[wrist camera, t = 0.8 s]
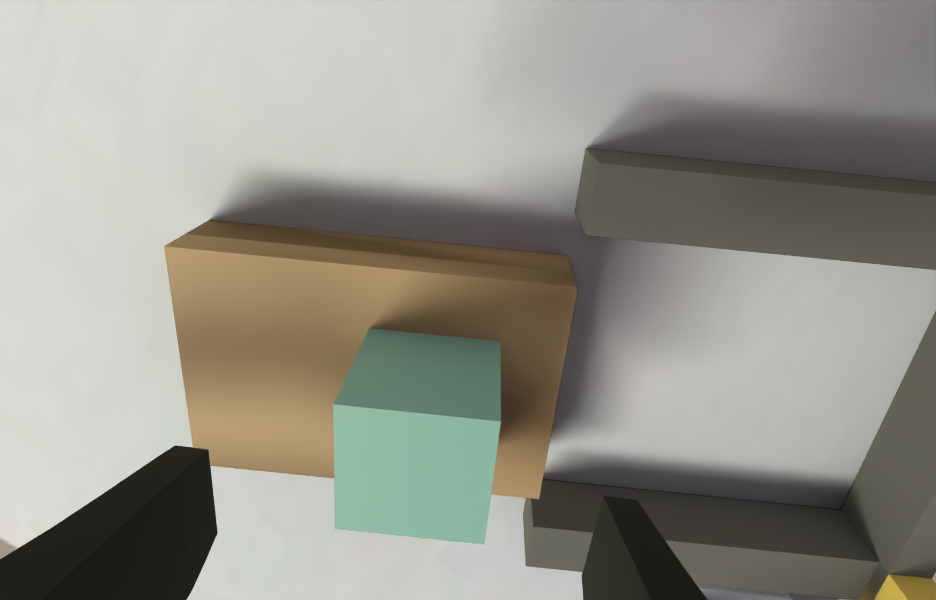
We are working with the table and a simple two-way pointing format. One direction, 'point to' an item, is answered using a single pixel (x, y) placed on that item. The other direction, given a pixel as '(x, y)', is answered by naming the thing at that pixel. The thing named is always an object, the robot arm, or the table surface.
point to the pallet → (354, 335)
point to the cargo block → (418, 436)
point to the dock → (897, 442)
